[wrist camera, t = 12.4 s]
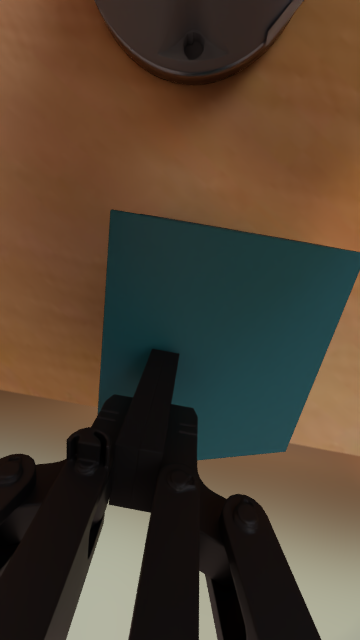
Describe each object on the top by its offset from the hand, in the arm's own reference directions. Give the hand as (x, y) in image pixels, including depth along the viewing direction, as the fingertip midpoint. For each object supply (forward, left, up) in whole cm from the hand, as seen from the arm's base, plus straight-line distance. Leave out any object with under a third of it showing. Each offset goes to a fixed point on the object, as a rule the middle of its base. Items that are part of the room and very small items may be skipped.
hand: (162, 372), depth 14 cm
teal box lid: (+3, +2, -2) cm, 4 cm away
